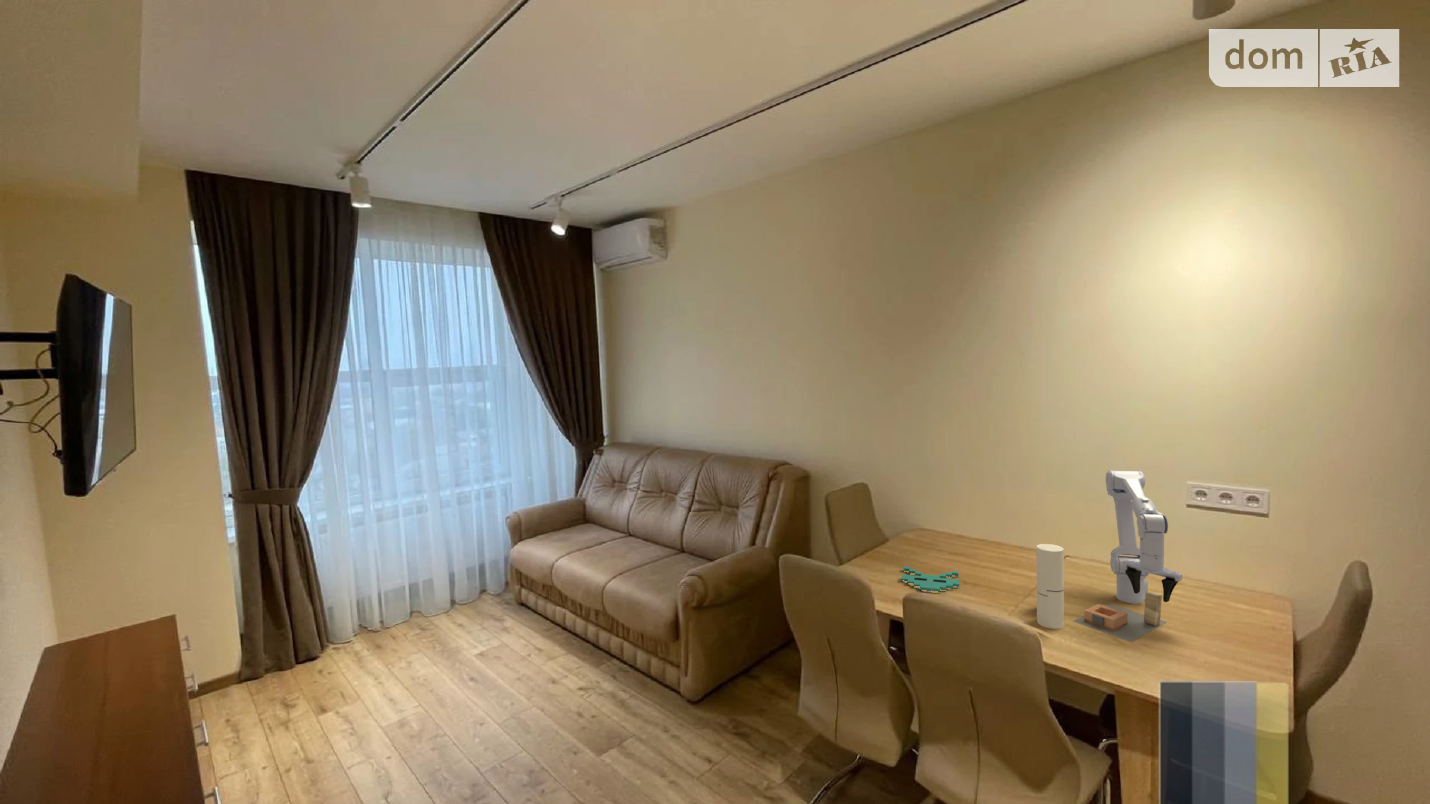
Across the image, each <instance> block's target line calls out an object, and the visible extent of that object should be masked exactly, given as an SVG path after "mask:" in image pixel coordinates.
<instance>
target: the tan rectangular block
mask: <svg viewBox="0 0 1430 804" xmlns="http://www.w3.org/2000/svg"><path fill="white" fill-rule="evenodd" d="M1162 601H1163V594H1161V593H1156V592H1153V591H1148V592H1147V593H1146V597H1145V600H1144V613H1143V614H1144V622H1145V623H1148V624H1151V625H1154V626H1156V625H1159V624H1160V620H1161V615H1162V614H1161V612H1162V603H1163V602H1162Z"/></svg>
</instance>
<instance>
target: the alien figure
mask: <svg viewBox="0 0 1430 804" xmlns="http://www.w3.org/2000/svg"><path fill="white" fill-rule="evenodd" d="M904 571H909V573H915V575H909V573H908V574H906V573H905V574H902V575H901V581H902V580H904V581H908V583H913V584H914V586H920V589H919V591H920V590H927V591H931V590H932V591H938V592H940V589H941V590H946V588H951V589H953V590H954V588H953V586H957V587H959V588H960V579H957V578H953V577H952V575H955V576H958V577H959V570H951V572H950V571H949V572H947V571H946V572H945V573H939V575H937V574H936V575H935V574H926V573H922V571H916V569H915V568H911V567H910V566H906V565H903V572H904ZM946 576H948V577H949V576H950V577H952V579H947V578H946ZM908 583H907V584H908ZM914 586H913V587H914ZM946 591H947V590H946Z"/></svg>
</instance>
